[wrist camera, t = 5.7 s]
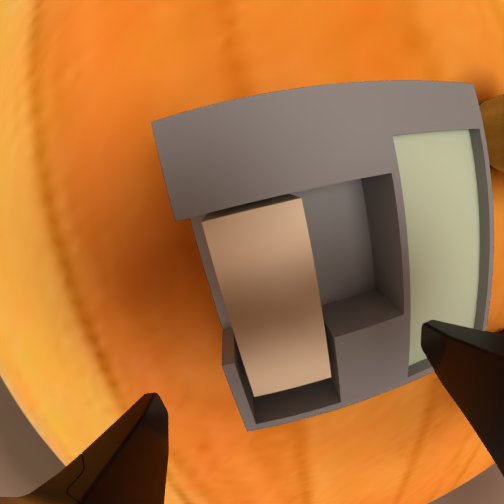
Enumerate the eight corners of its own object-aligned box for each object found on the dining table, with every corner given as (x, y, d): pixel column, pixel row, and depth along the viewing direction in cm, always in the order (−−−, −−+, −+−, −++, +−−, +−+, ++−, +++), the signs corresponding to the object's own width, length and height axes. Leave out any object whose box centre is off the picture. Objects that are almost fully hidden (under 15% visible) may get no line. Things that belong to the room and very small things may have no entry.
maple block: (314, 342, 18) (331, 377, 14) (249, 359, 17) (254, 396, 14) (285, 192, 15) (301, 198, 12) (208, 211, 15) (201, 222, 12)
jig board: (434, 307, 21) (483, 345, 15) (242, 366, 21) (247, 431, 15) (412, 100, 17) (473, 83, 11) (178, 139, 17) (150, 122, 11)
